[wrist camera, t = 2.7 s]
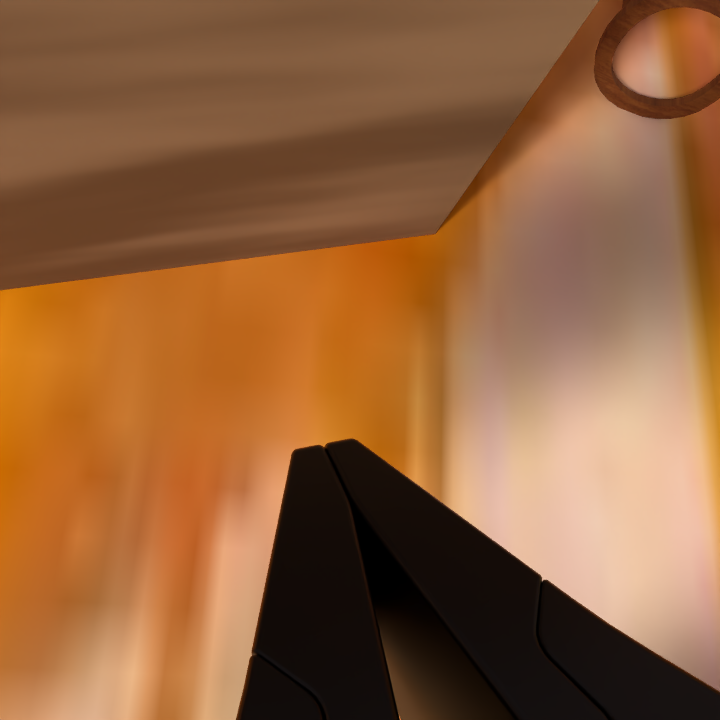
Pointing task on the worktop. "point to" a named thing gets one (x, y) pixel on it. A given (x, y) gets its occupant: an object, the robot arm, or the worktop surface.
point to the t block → (250, 123)
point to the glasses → (635, 7)
